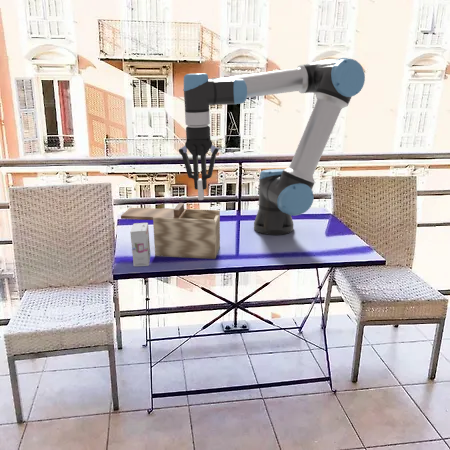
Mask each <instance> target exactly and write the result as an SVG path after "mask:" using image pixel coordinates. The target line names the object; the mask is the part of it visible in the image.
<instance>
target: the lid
mask: <svg viewBox="0 0 450 450" xmlns="http://www.w3.org/2000/svg"><path fill="white" fill-rule="evenodd" d="M184 209H185V203H184V202H179V203H178V204H177V205H176V206H175V207H174V208H172V209H162V208H154V207H153V208H151V207H150V208H149V207H147V208H146V207H129V208H128V209H127V210H126V211H124V212H123V213H122V214H121V215H120V219H121V220H139V221H140V220H141V221H142V220H144V221H153V217H155V218H181V219H182V218H183V216H184V215H185V213H186V210H184Z"/></svg>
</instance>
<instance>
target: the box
mask: <svg viewBox="0 0 450 450" xmlns="http://www.w3.org/2000/svg"><path fill="white" fill-rule="evenodd" d="M161 209H173V208H172V207H171V208H170V207H169V208H166V207H162V208H161ZM184 210H186V213H185V215H184V216H183V218H182V219H181V218H155V217H153V220H152V223H153V225H152V226H153V239H154V240H153V241H154V256H155V257H168V258H170V257H171V258H187V259H189V258H191V259H208V260H209V259H210V260H211V259H212V260H215V259H216V258H217V255H218V253H219V250H220V248H221V221H220V220H221V217H220V216H221V213H220V212H221V210H220V209H195V208H192V209H191V208H184Z"/></svg>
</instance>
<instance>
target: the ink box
mask: <svg viewBox="0 0 450 450" xmlns="http://www.w3.org/2000/svg"><path fill="white" fill-rule="evenodd" d="M130 241H131V243H130V244H131V253H132V262H133V267H148V266H150V262H151V256H152V255H151V245H150V244H151V243H150V231H149V222H140V223H139V222H136V223H135V222H134V223H133V224H132V227H131V229H130Z"/></svg>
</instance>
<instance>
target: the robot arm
mask: <svg viewBox="0 0 450 450" xmlns="http://www.w3.org/2000/svg"><path fill="white" fill-rule="evenodd" d="M365 76H366V75H365V72H364V69H363V67H362V65H361V63H360V62H358V61H357V60H355V59H353V58H348V57H342V58H341V57H340V58H326V59H322V60H318V61H313V62H311V63H305V64H300V65H297V67H296V68H291V69H290V68H288V69H282V70H275V71H274V70H272V71H266V72H264V71H263V72H259V73H250V74H242V75H234V76H233V75H232V76H228V77H226V76H225V77H218V78H217V77H214V78H213V77H212V78H209V75H208V73H205V72H203V73H186V74H185V75H184V76H183V90H182V91H183V98H184V118H185V119H184V121H185V125H186V128H185V134H186V135H185V136H186V137H185V139H186V141H185V144H184V146H182V147H180V148H179V149H178V152H179V154H180V155H181V158H182V160H183V164H184V168H185V170H186V174H187V177H188V179H192V180H193V181H194V185H193V187H194V190H197V199H198V201H203V200H204V199H205V191H204V190H206V189H207V186H208V185H207V183H208V182H207V179H211V177H212V176H213V172H214V168H215V167H214V166H215V162H216V157H217V154H218V153H219V151H220V147H218V146H217V147H216V146H215V145H213V142H212V140H211V126H210V123H211V119H210V118H211V117H210V106H221V105H222V106H223V105H224V106H225V105H237V104H238V105H239V104H240V105H241V104H244V103H245V102H246V100H247V99H248V98H253V97H263V96H272V95H277V94H287V93H293V92H299V93H300V94H308V93H310V94H311V93H313V94H315V97H316V102H315V104H314V107H313V109H312V112H311V114H310V116H309V118H308V121H307V123H306V126H305V128H304V130H303V132H302V136H301V138H300V140H299V142H298V143H299V144H298V145H297V148H296V150H295V152H294V156H293V157H292V160H291V162H290V164H289V166H288V167H286V168H276V169H275V168H274V169H264V170H261V171H260V173H259V178H258V182H259V183H258V184H259V185H258V187H259V189H258V210H257V213H256V216H255V219H254V222H253V229H254V231H255V232H257V233H259V234H263V235H271V236H272V235H273V236H278V235H279V236H280V235H287V234H290V233H292V232H293V231H294V226H295V225H294V220H293V217H294V216H300V215H302V214H305V213H306V212H308V211H309V209H310V208H311V207H312V205H313V203H314V198H315V197H314V196H315V195H314V191H313V188H314V185H315V183H316V182H315V179H314V175H315V172H316V169H317V167H318V165H319V162H320V159H321V157H322V156H323V153H324V151H325V149H326V145H327V143H328V141H329V139H330V136H331V134H332V132H333V130H334V127H335V125H336V123H337V120H338V118H339V115H340V113H341V111H342V109H345V108H346V107H348V105H349V103H351V102H350V101H351V99H352V97H355V96H357V95H358V94H359V93H360V92H361V91H362V90H363V87H364V85H365V81H366V77H365ZM209 151H210V153H211V155H210V161H209V165H208V171H207V154H208V153H209ZM188 152H189V153H190V155H192V166H193V167H192V166H191V162H190V159H189V156H188ZM199 157H200V166H201V168H200V169H201V178H200V176H199V175H200V173H199V172H200V171H199ZM192 168H193V170H192ZM292 216H293V217H292Z"/></svg>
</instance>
